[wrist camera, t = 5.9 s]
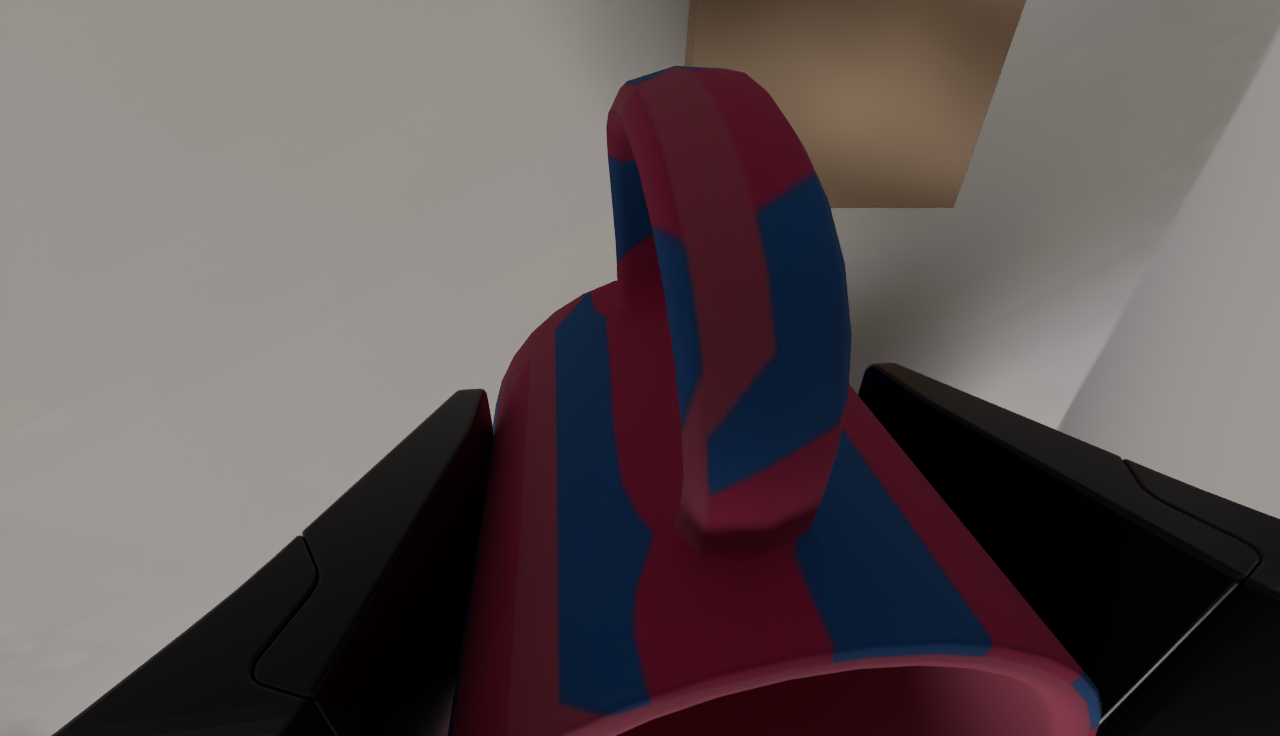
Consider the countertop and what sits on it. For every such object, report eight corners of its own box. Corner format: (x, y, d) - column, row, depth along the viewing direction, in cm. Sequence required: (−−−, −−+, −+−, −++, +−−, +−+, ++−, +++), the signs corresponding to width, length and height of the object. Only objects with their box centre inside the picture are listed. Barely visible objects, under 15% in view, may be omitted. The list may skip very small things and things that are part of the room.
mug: (516, 543, 13) (487, 974, 7) (431, 44, 7) (-39, 133, 1) (790, 515, 13) (966, 880, 8) (899, 48, 8) (1768, 115, 2)
